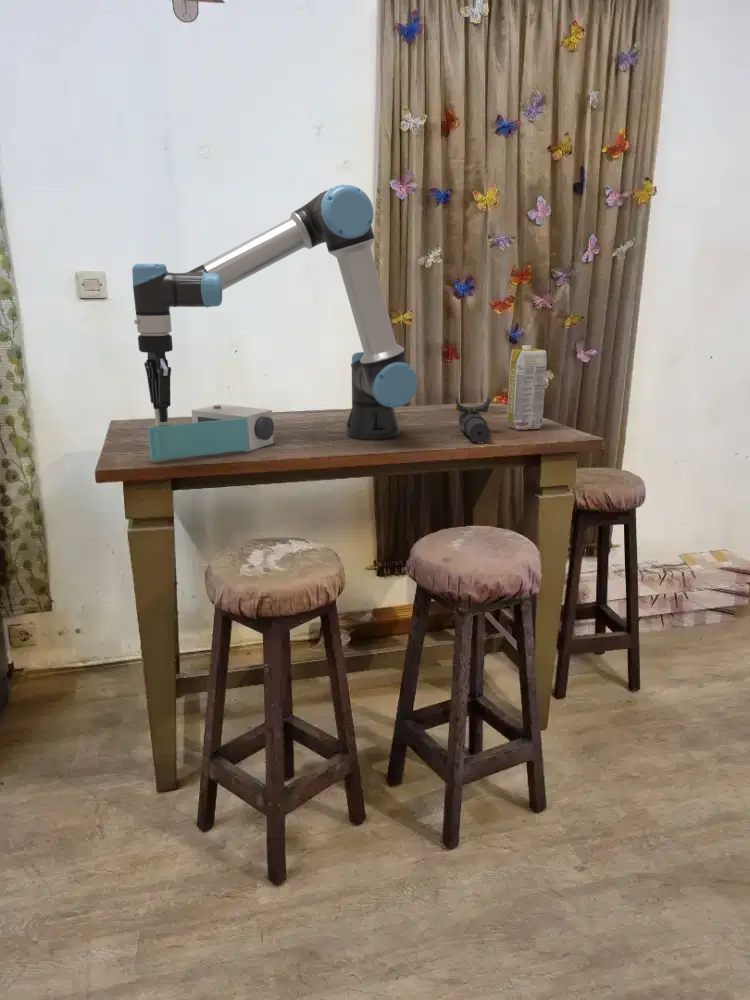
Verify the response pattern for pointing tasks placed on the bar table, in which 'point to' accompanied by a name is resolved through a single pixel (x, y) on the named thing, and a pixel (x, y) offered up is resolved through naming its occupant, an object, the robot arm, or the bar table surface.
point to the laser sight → (474, 421)
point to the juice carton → (526, 387)
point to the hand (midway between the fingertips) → (163, 434)
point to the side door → (198, 438)
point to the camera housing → (257, 418)
